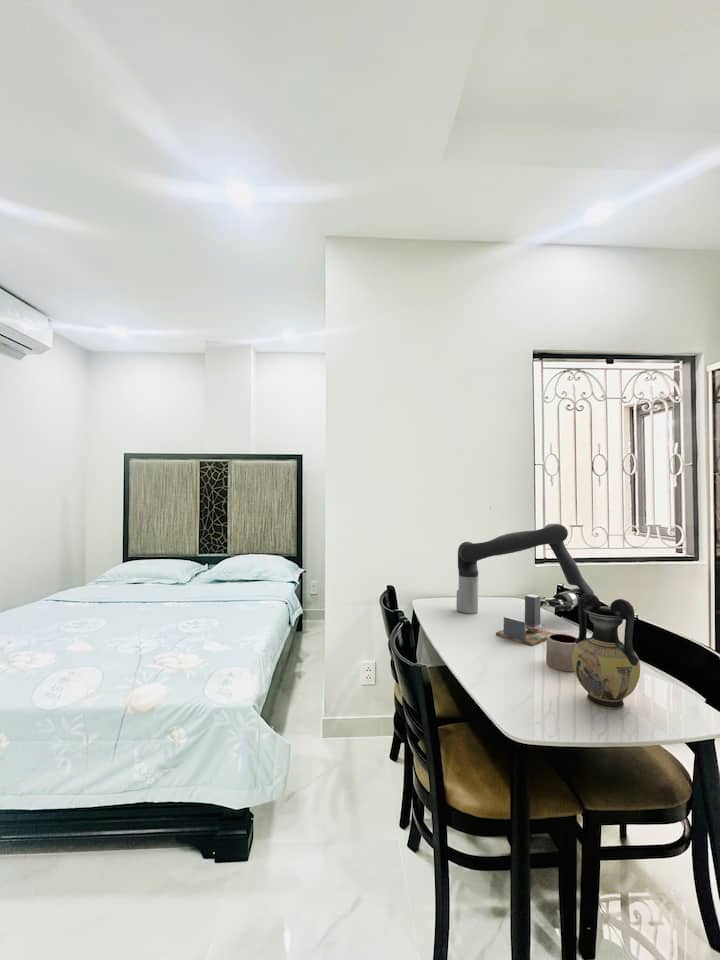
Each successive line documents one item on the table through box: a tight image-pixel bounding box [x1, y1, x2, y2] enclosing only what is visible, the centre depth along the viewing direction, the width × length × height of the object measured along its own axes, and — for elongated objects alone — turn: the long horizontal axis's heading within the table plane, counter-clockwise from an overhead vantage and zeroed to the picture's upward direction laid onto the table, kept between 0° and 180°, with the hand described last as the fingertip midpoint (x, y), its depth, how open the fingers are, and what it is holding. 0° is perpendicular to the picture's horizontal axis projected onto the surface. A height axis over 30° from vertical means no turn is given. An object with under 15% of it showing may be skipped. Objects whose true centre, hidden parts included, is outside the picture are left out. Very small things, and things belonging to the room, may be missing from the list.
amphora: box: [572, 593, 641, 710], centre depth 131 cm, size 18×17×30 cm
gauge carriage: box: [524, 593, 544, 633], centre depth 189 cm, size 7×11×14 cm, turn 130°
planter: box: [545, 632, 578, 673], centre depth 157 cm, size 11×11×10 cm
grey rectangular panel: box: [503, 615, 526, 640], centre depth 183 cm, size 9×1×7 cm, turn 40°
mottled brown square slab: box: [495, 629, 554, 647], centre depth 188 cm, size 16×18×1 cm
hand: (546, 606), depth 198 cm, fingers open, 8 cm apart
